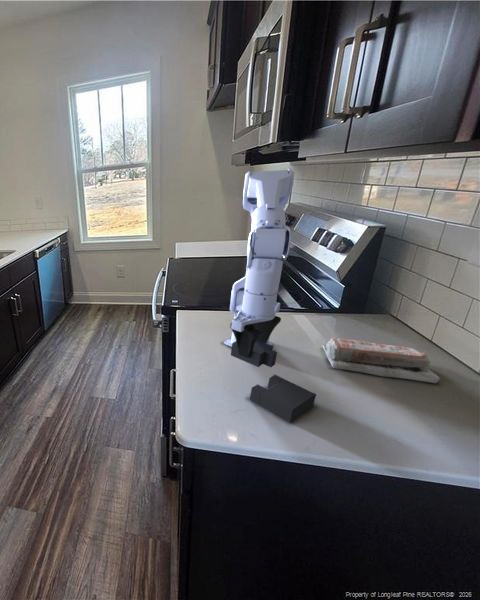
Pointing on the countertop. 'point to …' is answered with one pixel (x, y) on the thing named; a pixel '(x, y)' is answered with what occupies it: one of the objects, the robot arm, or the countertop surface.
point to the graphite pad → (257, 354)
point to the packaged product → (379, 359)
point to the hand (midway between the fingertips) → (251, 351)
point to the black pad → (283, 398)
